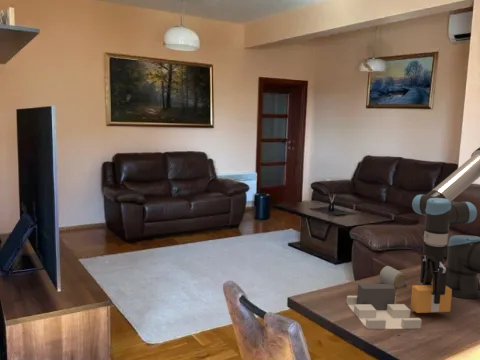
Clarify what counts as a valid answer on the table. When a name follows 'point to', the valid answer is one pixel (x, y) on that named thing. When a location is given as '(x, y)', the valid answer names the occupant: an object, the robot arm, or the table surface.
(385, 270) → the ceramic mug
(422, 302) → the tall orange brick
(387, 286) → the dark gray brick
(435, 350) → the table surface
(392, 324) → the rack
